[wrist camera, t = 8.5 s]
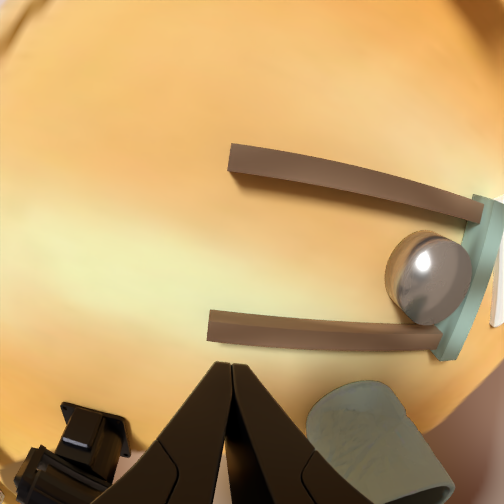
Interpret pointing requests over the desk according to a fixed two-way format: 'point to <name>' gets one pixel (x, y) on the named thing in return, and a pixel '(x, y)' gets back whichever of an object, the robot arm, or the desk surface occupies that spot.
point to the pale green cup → (377, 446)
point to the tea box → (1, 497)
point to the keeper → (428, 276)
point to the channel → (355, 333)
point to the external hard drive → (498, 283)
